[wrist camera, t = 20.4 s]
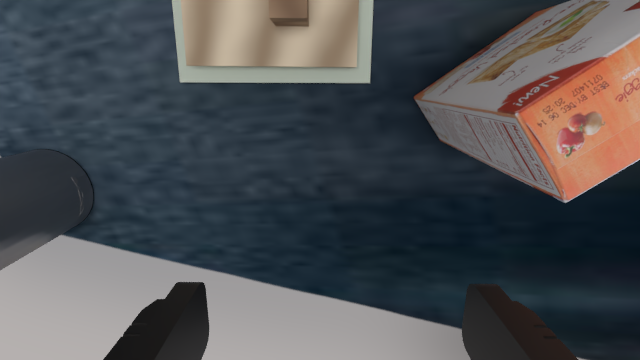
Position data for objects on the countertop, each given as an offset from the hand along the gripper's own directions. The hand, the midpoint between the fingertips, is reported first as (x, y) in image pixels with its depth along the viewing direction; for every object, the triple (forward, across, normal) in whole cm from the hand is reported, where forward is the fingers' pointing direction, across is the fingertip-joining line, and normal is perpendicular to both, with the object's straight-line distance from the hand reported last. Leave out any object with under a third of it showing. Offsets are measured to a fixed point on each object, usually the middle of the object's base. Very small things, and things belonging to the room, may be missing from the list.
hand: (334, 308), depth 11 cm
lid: (+28, +5, -14) cm, 31 cm away
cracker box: (+28, -16, -7) cm, 33 cm away
